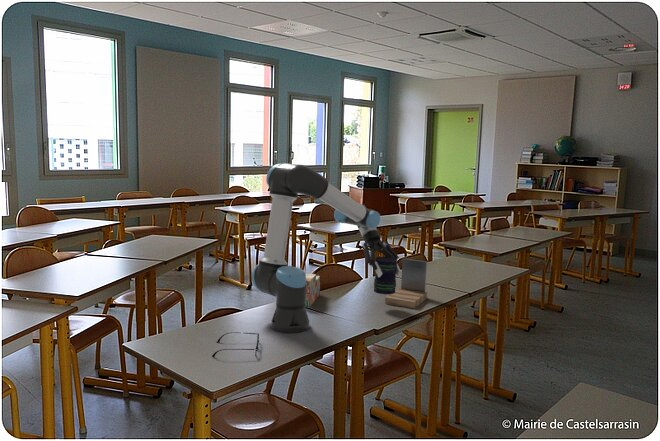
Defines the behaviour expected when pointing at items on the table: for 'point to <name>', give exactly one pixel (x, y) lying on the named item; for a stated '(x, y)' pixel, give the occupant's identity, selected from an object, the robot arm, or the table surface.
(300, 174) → the robot arm
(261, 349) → the table surface
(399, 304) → the slatted wooden block
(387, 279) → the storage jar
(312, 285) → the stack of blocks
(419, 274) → the bookend
